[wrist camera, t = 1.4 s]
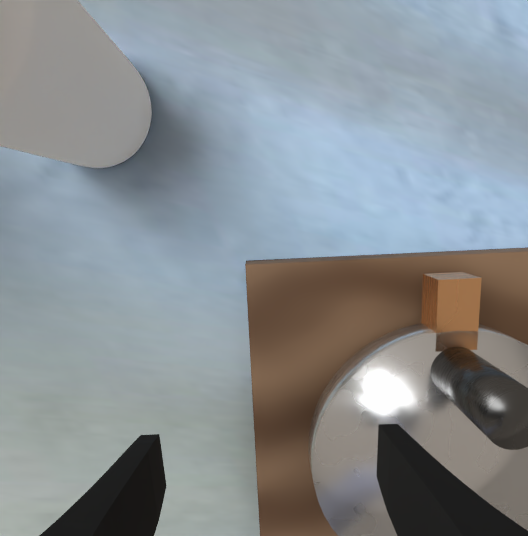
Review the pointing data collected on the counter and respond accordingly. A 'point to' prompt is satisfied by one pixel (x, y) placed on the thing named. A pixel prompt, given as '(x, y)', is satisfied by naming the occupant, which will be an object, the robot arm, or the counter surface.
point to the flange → (426, 410)
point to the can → (67, 86)
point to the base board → (342, 348)
